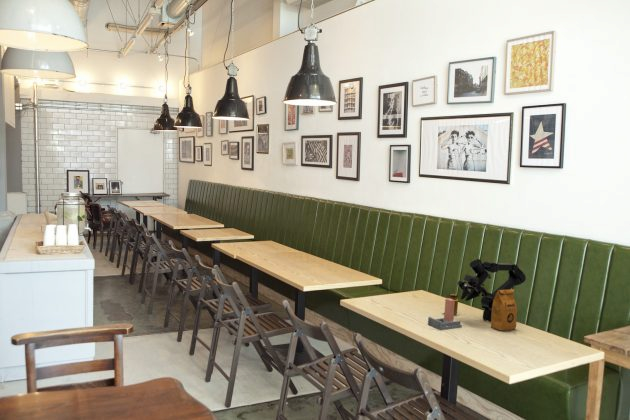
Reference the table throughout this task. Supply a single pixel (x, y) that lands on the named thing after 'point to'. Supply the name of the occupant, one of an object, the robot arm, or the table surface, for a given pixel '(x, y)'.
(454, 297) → the condiment
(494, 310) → the coffee package
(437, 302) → the table surface
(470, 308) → the table surface
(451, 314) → the tall terracotta column
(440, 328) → the track housing
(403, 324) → the table surface
